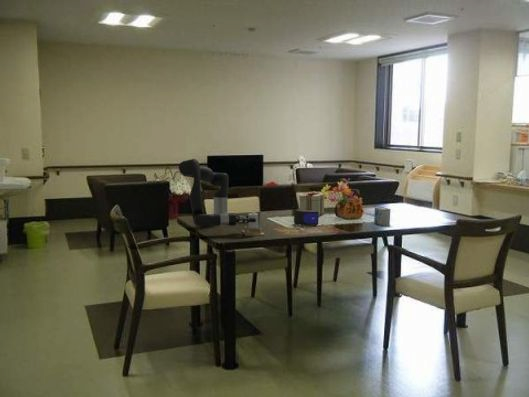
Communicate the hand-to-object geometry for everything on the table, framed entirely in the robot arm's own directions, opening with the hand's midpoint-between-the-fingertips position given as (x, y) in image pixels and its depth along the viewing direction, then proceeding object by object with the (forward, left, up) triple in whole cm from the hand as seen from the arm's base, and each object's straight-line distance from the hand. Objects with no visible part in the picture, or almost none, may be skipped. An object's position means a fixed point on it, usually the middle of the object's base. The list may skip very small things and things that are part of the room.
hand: (254, 218), depth 318 cm
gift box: (-64, +55, -9) cm, 85 cm away
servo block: (0, -1, -8) cm, 8 cm away
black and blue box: (-25, +40, -9) cm, 48 cm away
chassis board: (0, -1, -9) cm, 9 cm away
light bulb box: (-20, +92, -9) cm, 95 cm away
